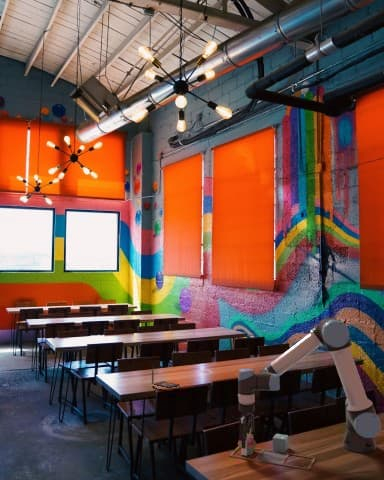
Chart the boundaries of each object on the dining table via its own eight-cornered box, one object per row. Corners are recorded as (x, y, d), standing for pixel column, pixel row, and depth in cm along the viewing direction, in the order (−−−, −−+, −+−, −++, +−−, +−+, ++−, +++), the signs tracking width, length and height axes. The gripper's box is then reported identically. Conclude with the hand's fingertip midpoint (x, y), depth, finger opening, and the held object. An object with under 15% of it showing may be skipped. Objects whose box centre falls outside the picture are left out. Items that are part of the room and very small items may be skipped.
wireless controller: (181, 389, 340) (180, 365, 341) (168, 393, 330) (167, 368, 331) (161, 385, 353) (161, 362, 354) (148, 388, 342) (148, 365, 343)
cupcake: (254, 449, 224) (254, 424, 225) (257, 456, 216) (257, 430, 216) (237, 449, 224) (236, 424, 225) (239, 457, 215) (239, 430, 216)
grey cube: (276, 446, 228) (276, 433, 229) (288, 448, 226) (288, 435, 226) (273, 450, 223) (272, 437, 223) (285, 452, 220) (285, 439, 221)
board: (239, 445, 229) (239, 445, 229) (315, 458, 213) (315, 457, 213) (229, 456, 216) (229, 455, 216) (309, 470, 200) (309, 469, 200)
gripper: (246, 396, 232) (247, 442, 231) (231, 407, 213) (231, 458, 212) (260, 397, 229) (261, 445, 228) (246, 409, 210) (247, 461, 209)
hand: (247, 451), depth 220 cm, fingers closed on cupcake, 8 cm apart
